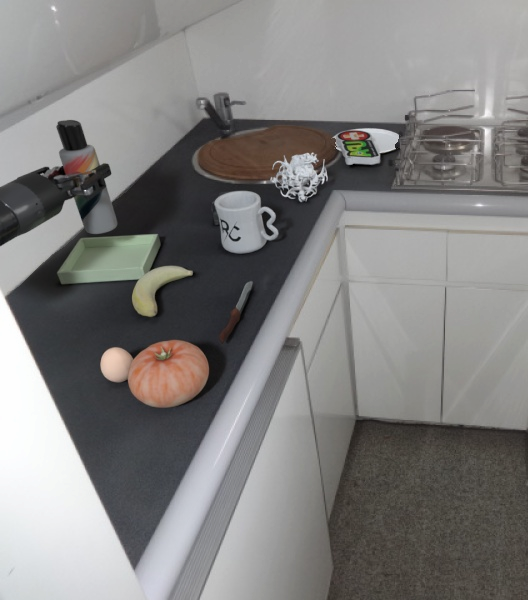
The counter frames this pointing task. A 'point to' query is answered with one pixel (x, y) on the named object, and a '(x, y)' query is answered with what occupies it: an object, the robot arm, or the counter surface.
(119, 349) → the egg
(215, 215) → the reflex sight
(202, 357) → the tomato
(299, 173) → the figurine
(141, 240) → the green tray
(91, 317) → the counter surface
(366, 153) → the sign
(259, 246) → the mug
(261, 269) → the counter surface
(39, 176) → the robot arm
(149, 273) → the fruit
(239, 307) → the knife
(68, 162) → the lotion bottle
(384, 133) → the plate
